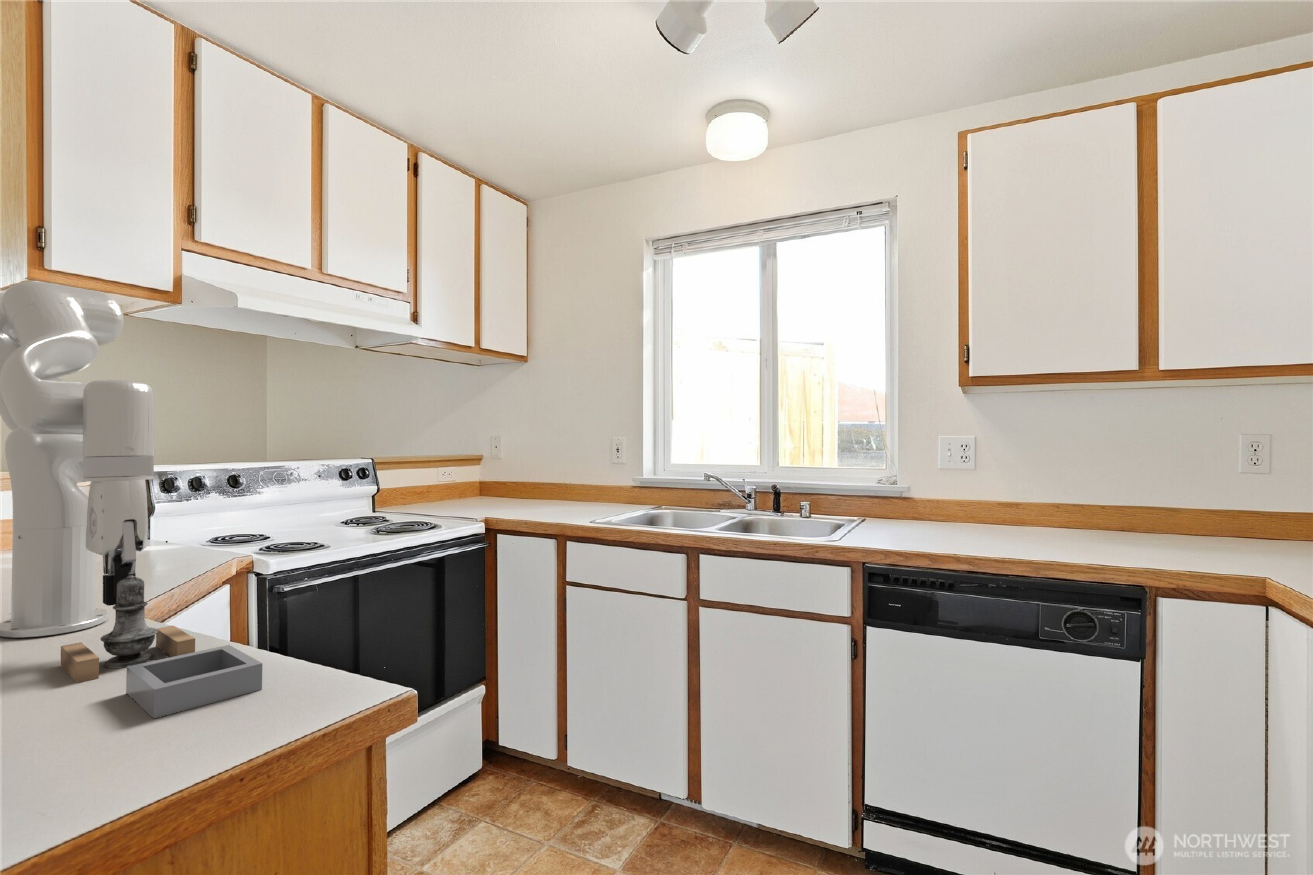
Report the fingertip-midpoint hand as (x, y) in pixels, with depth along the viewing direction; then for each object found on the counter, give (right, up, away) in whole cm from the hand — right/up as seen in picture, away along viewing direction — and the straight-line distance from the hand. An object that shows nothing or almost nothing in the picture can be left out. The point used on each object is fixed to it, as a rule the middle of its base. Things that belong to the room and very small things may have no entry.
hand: (119, 602), depth 88 cm
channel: (+4, -7, -4) cm, 9 cm away
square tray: (+20, -7, -13) cm, 25 cm away
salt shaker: (+4, -7, -4) cm, 9 cm away
